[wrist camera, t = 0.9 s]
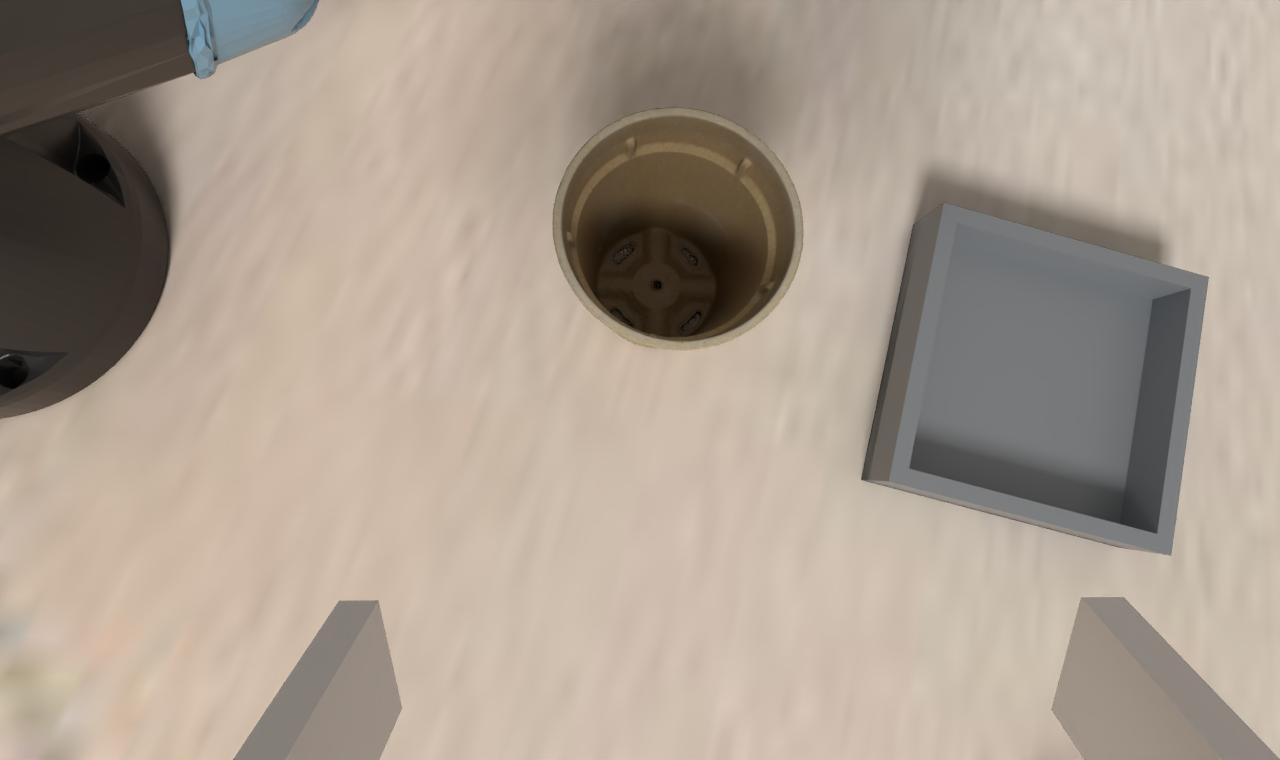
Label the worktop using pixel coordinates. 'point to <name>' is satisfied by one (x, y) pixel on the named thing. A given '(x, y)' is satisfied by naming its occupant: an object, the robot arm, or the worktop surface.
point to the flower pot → (678, 227)
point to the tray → (1039, 380)
